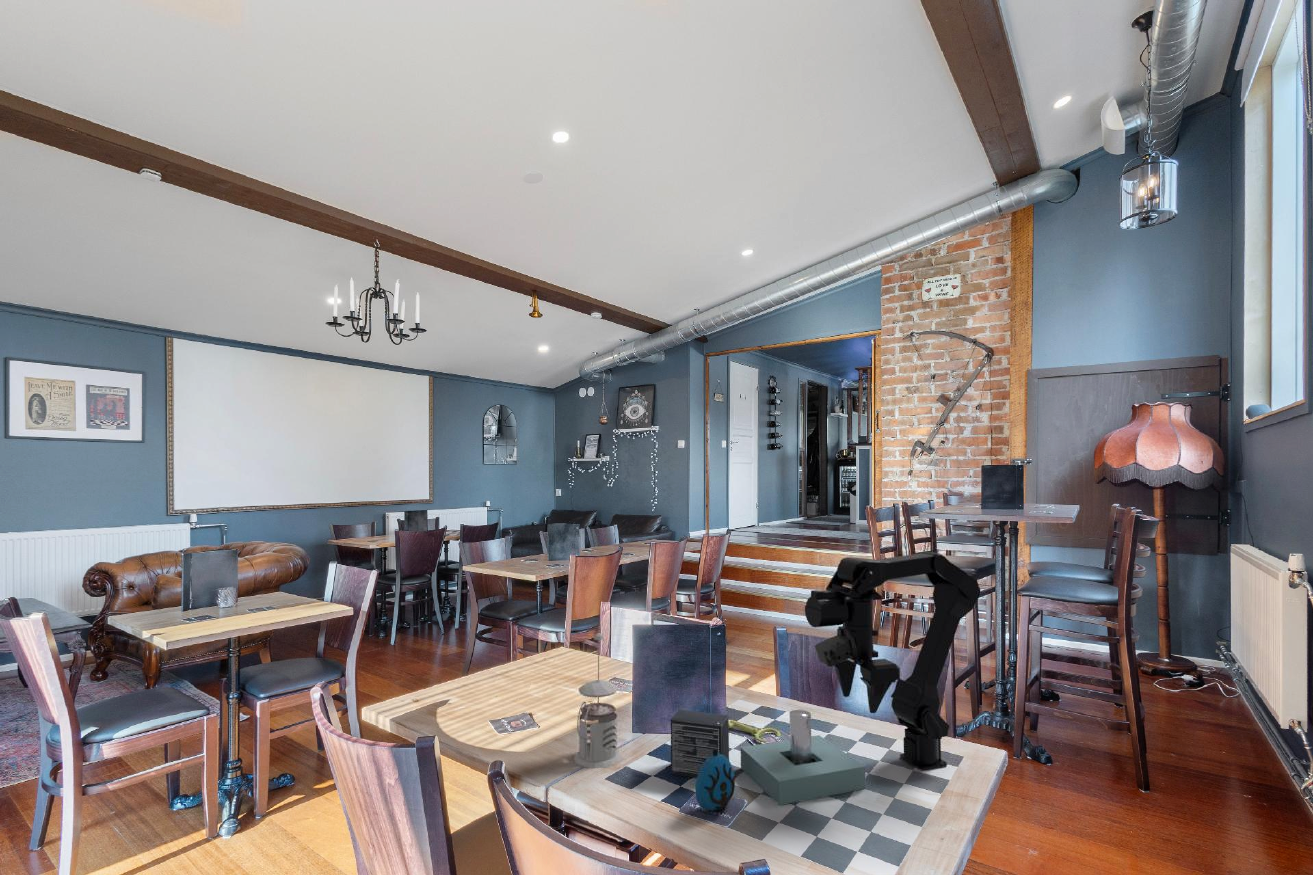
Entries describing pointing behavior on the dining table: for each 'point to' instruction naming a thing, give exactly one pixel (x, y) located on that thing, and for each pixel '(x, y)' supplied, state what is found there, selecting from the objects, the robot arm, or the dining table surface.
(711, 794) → the ornament
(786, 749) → the box
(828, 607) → the robot arm
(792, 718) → the tube
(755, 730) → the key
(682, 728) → the small box
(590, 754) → the french press
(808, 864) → the dining table surface
